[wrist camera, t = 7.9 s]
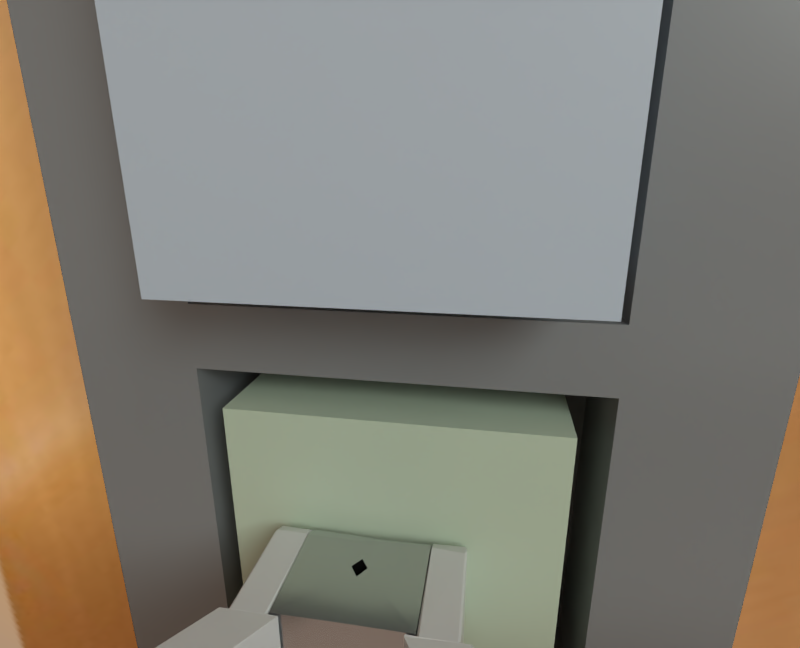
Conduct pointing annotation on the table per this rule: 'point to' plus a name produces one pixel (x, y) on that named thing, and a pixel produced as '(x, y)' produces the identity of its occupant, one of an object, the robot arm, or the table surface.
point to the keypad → (477, 343)
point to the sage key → (415, 482)
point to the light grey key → (383, 150)
